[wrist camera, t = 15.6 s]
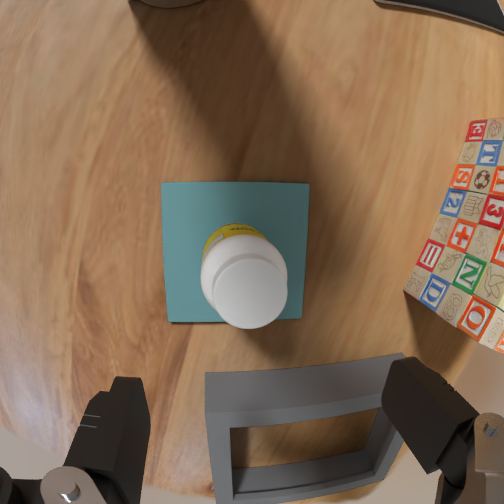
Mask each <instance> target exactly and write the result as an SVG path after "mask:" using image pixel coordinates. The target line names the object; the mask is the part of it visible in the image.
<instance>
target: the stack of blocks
mask: <svg viewBox="0 0 504 504" xmlns="http://www.w3.org/2000/svg"><path fill="white" fill-rule="evenodd" d="M403 290H404V291H405V292H407V293H408V294H410V295H411V296H412V297H414V298H415V299H417V300H419V301H420V302H421V303H423V304H424V305H426V306H427V307H428V308H430V309H431V310H432V311H434V312H435V313H436V314H437V315H438V316H440V317H441V318H442V319H444V320H445V321H447V322H448V323H449V324H451V325H452V326H454V327H455V328H457V329H460V330H462V331H464V332H465V333H466V334H468V335H469V336H470V337H472V338H473V339H474V340H476V341H477V342H478V343H481V344H483V345H485V346H487V347H489V348H491V349H494V350H495V351H498V352H500V353H502V354H504V118H491V119H488V120H487V119H486V120H475V121H471V122H470V126H469V130H468V134H467V137H466V140H465V143H464V145H463V148H462V151H461V154H460V157H459V161H458V165H457V167H456V169H455V172H454V175H453V178H452V181H451V183H450V186H449V190H448V193H447V195H446V198H445V201H444V203H443V206H442V208H441V211H440V214H439V216H438V218H437V221H436V223H435V225H434V228H433V230H432V232H431V235H430V237H429V239H428V240H427V242H426V245H425V247H424V249H423V251H422V253H421V255H420V257H419V260H418V262H417V264H416V266H415V267H414V269H413V271H412V273H411V275H410V277H409V279H408V281H407V283H406V285H405V287H404V289H403Z"/></svg>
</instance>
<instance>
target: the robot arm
mask: <svg viewBox="0 0 504 504" xmlns="http://www.w3.org/2000/svg"><path fill="white" fill-rule="evenodd" d="M128 1H131V0H128ZM140 1H142V2H144V3H146V4H148V5H152V6H156V7H164V8H172V7H182V6H187V5H191V4H194V3H197V2H200V1H202V0H140ZM381 404H382V408H383V410H384V412H385V414H386V415H387V416H388V418H389V419H390V421H391V422H392V424H393V425H394V427H395V428H396V430H397V431H398V432H399V434H400V435H401V437H402V438H403V440H404V441H405V443H406V444H407V446H408V447H409V448H410V450H411V451H412V453H413V454H414V456H415V457H416V459H417V460H418V462H419V463H420V465H421V466H422V468H423V469H424V470H425V472H426V473H427V474H429V473H432V472H434V471H436V470H438V469H441V471H442V474H441V475H440V477H439V481H438V487H437V493H436V499H435V504H504V418H503V417H502V416H500V415H498V414H495V413H483V414H481V415H480V414H479V413H478V412H477V411H476V410H475V409H474V408H473V407H472V406H471V405H470V404H469V403H468V402H467V401H466V400H465V399H464V398H463V397H462V396H461V395H460V394H459V393H458V392H457V391H454V388H453V387H452V386H451V385H450V384H447V381H446V380H445V379H444V378H443V377H442V376H441V375H440V374H439V373H437V372H435V371H433V370H431V369H429V368H427V367H425V366H424V365H423V364H422V363H421V362H420V361H419V360H418V359H417V358H416V357H413V356H412V357H407V358H403V359H398V360H394V361H393V362H392V364H391V366H390V369H389V373H388V376H387V379H386V383H385V386H384V389H383V392H382V396H381ZM150 427H151V424H150V414H149V410H148V405H147V401H146V397H145V392H144V387H143V383H142V380H141V378H137V377H121V376H116V377H115V379H114V381H113V384H112V386H111V389H110V391H109V392H105V391H100V392H99V393H98V394H97V395H95V396H94V397H93V398H92V399H91V400H90V401H89V403H88V405H87V408H86V410H85V412H84V416H83V417H82V420H81V422H80V426H79V427H78V429H77V432H76V434H75V437H74V439H73V442H72V444H71V447H70V449H69V452H68V455H67V457H66V460H65V463H64V465H63V466H62V467H58V468H55V469H53V470H51V471H49V472H48V473H47V474H46V475H45V476H44V478H43V479H40V480H27V479H26V480H24V479H12V478H11V477H10V475H9V474H8V473H7V472H6V471H5V470H4V469H3V468H1V467H0V504H140V498H141V490H142V482H143V475H144V468H145V461H146V455H147V448H148V442H149V436H150Z"/></svg>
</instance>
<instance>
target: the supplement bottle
mask: <svg viewBox="0 0 504 504" xmlns="http://www.w3.org/2000/svg"><path fill="white" fill-rule="evenodd" d="M200 280H201V287H202V291H203V294H204V296H205V298H206V300H207V301H208V303H209V304H210V305H211V306H212V307H213V308H214V309H215V310H216V311H217V312H218V313H219V315H220V316H221V317H222V318H223V319H224V320H225V321H226V322H227V323H229V324H231V325H233V326H235V327H238V328H243V329H254V328H259V327H263V326H265V325H267V324H269V323H270V322H272V321H273V320H274V319H276V318H277V317H278V316H279V314H280V313H281V312H282V310H283V308H284V306H285V304H286V300H287V294H288V291H287V268H286V264H285V262H284V259H283V257H282V256H281V254H280V253H279V251H278V250H277V248H276V247H274V246H273V245H272V244H271V243H270V242H269V241H268V240H267V239H266V238H265V237H264V236H263V235H262V234H261V233H260V232H259V231H258V230H257V229H255V228H254V227H252V226H250V225H247V224H244V223H228V224H225V225H223V226H220V227H219V228H217V229H216V230H215V231H214V232H212V233H211V235H210V236H209V237H208V239H207V241H206V243H205V245H204V248H203V253H202V264H201V276H200Z"/></svg>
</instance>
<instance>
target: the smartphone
mask: <svg viewBox="0 0 504 504" xmlns="http://www.w3.org/2000/svg"><path fill="white" fill-rule="evenodd" d="M375 1H377V2H379V3H386V4H393V5H400V6H406V7H411V8H417V9H422V10H426V11H431V12H435V13H440V14H444V15H448V16H451V17H455V18H459V19H462V20H466V21H469V22H472V23H475V24H479V25H482V26H485V27H487V28H490V29H493V30H496V31H499V32H501V33H504V12H503V10H502V8H501V6H500V3H499V1H498V0H375Z"/></svg>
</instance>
